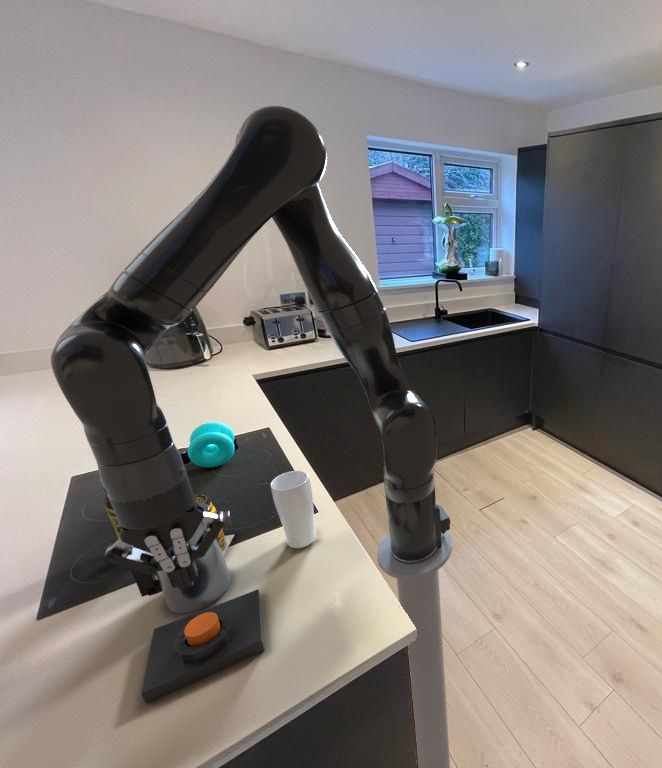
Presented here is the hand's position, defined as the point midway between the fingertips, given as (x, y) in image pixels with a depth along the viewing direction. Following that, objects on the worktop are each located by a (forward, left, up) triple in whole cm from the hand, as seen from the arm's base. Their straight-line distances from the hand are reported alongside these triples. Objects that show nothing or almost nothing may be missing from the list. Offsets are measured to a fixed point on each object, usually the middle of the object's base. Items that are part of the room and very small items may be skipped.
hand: (187, 583), depth 56 cm
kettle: (+2, -14, -14) cm, 20 cm away
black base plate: (0, -1, -14) cm, 14 cm away
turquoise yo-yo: (+1, -64, -14) cm, 66 cm away
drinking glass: (-15, -18, -14) cm, 27 cm away
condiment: (+2, -25, -14) cm, 29 cm away
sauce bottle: (+12, -33, -14) cm, 38 cm away
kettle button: (0, 0, -10) cm, 10 cm away
